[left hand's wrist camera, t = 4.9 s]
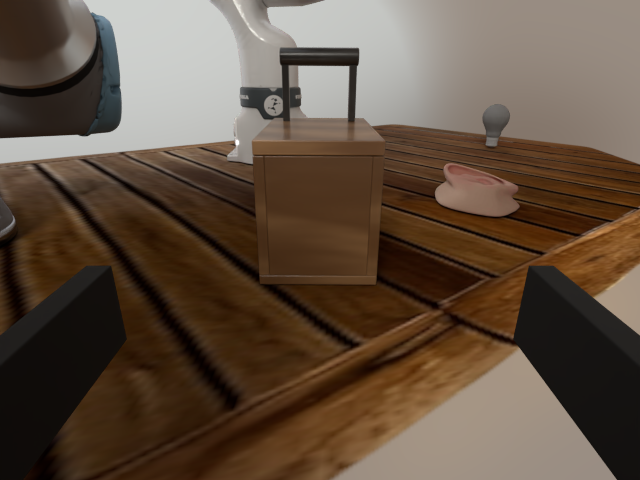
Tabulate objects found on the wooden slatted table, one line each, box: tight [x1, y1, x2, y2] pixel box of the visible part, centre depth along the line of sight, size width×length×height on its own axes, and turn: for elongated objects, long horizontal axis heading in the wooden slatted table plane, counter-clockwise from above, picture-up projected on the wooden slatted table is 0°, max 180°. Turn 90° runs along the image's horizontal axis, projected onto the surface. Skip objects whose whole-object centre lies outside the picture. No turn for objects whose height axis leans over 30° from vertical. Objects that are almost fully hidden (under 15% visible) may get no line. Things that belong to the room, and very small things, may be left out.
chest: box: [253, 155, 385, 285], centre depth 40 cm, size 16×10×11 cm, turn 0°
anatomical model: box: [435, 164, 519, 217], centre depth 57 cm, size 13×4×12 cm
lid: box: [252, 47, 385, 156], centre depth 37 cm, size 16×10×8 cm, turn 0°
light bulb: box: [483, 104, 510, 147], centre depth 97 cm, size 6×6×10 cm
